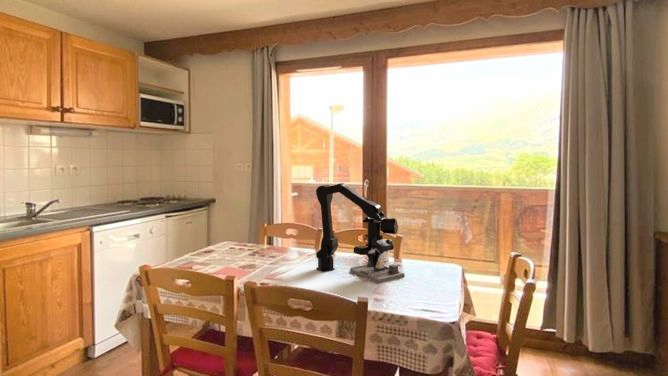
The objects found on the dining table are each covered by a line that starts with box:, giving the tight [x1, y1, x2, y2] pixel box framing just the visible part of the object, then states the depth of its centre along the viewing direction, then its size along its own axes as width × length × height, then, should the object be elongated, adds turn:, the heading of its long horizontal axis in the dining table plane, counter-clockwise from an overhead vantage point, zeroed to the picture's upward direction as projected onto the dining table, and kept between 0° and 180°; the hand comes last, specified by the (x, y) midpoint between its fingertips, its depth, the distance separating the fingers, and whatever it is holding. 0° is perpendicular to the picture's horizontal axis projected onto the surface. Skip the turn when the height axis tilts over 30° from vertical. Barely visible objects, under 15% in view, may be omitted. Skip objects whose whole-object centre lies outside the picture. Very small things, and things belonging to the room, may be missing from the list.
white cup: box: [378, 238, 390, 263], centre depth 205 cm, size 8×8×10 cm
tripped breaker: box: [374, 259, 385, 271], centre depth 181 cm, size 3×4×5 cm
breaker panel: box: [349, 257, 405, 284], centre depth 180 cm, size 15×20×5 cm
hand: (373, 267), depth 179 cm, fingers closed
